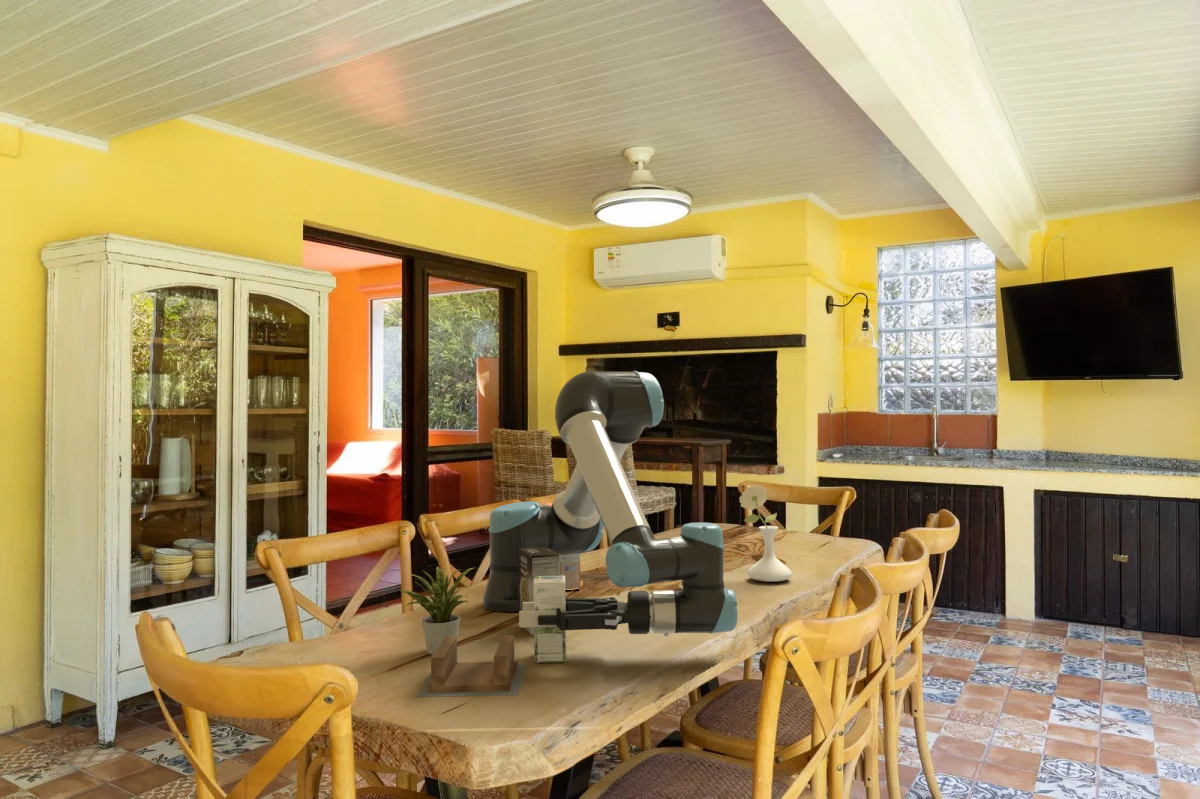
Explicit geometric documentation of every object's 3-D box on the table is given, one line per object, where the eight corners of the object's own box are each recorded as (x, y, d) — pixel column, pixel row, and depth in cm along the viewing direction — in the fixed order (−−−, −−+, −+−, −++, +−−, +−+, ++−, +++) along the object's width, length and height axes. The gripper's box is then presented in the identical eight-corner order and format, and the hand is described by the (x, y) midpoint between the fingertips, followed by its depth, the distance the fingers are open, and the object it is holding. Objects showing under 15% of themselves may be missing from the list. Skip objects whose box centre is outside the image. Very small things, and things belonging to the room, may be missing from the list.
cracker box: (582, 590, 203) (580, 506, 204) (559, 592, 201) (558, 508, 201) (564, 580, 216) (562, 501, 217) (542, 582, 214) (541, 502, 215)
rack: (517, 667, 141) (516, 635, 141) (510, 690, 129) (509, 656, 129) (442, 668, 141) (442, 636, 141) (428, 692, 129) (427, 657, 129)
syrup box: (566, 653, 149) (565, 574, 149) (566, 663, 143) (565, 580, 143) (535, 654, 149) (534, 574, 149) (534, 664, 143) (532, 581, 143)
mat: (527, 665, 143) (527, 663, 143) (518, 696, 127) (518, 694, 127) (436, 667, 143) (436, 665, 143) (416, 698, 127) (416, 696, 127)
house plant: (450, 635, 163) (448, 554, 164) (497, 647, 155) (496, 561, 155) (391, 652, 152) (389, 565, 153) (438, 666, 144) (437, 573, 144)
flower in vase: (789, 576, 216) (787, 482, 217) (795, 585, 205) (792, 485, 205) (739, 576, 217) (737, 482, 218) (742, 585, 206) (740, 486, 206)
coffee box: (518, 625, 171) (517, 548, 171) (548, 621, 173) (546, 545, 173) (530, 635, 162) (529, 554, 163) (561, 632, 165) (560, 552, 165)
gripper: (653, 648, 137) (516, 650, 137) (647, 619, 155) (526, 621, 155) (653, 603, 137) (515, 606, 137) (646, 580, 156) (525, 582, 155)
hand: (521, 614), depth 146 cm, fingers closed on syrup box, 6 cm apart
